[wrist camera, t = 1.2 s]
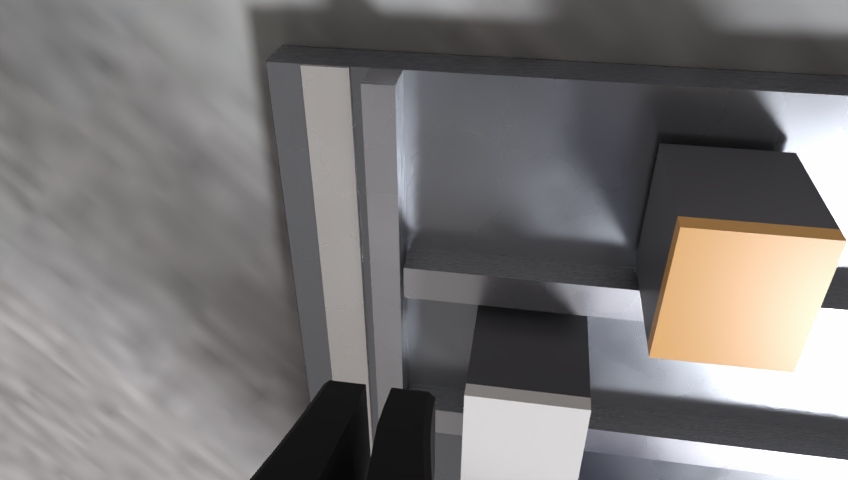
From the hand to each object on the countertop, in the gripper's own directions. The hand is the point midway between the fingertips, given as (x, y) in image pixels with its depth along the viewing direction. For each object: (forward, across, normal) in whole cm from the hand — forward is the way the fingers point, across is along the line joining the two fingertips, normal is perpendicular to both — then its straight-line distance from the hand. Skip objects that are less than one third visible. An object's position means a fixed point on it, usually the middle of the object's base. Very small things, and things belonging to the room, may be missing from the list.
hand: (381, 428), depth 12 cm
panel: (+9, -6, +5) cm, 12 cm away
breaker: (+8, -2, +5) cm, 10 cm away
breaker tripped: (+8, -7, 0) cm, 10 cm away
